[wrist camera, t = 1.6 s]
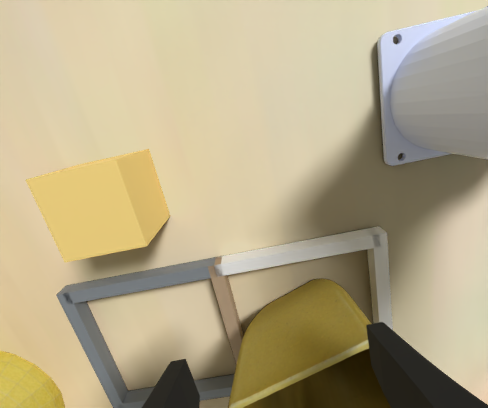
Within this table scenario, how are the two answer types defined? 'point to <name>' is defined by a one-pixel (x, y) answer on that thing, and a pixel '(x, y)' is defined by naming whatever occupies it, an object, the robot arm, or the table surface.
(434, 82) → the robot arm
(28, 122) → the table surface
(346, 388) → the flower pot
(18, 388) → the handbell
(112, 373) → the sorting board
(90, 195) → the ochre block
